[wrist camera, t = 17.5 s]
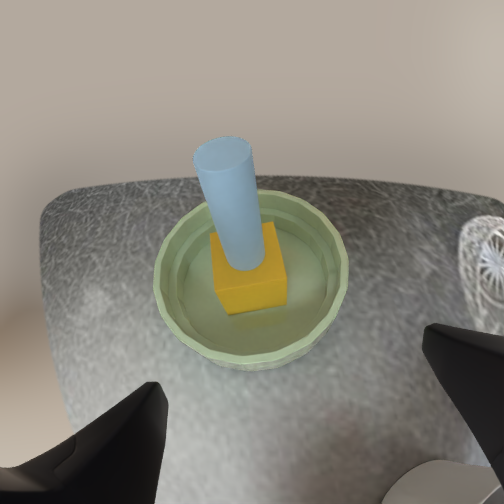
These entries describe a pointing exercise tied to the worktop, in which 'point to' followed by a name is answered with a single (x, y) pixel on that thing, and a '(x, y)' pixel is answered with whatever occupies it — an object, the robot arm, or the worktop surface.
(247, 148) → the sponge wand
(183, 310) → the bowl
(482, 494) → the mug
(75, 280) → the worktop surface
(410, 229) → the worktop surface
